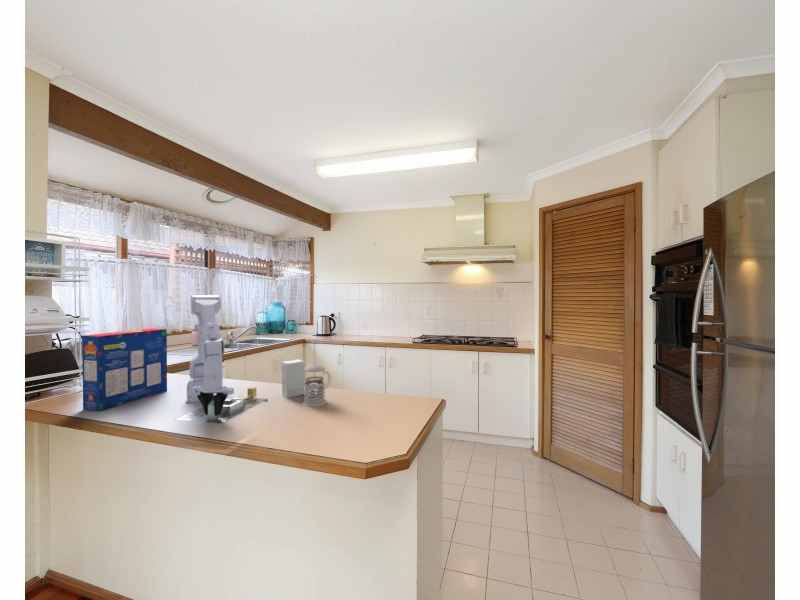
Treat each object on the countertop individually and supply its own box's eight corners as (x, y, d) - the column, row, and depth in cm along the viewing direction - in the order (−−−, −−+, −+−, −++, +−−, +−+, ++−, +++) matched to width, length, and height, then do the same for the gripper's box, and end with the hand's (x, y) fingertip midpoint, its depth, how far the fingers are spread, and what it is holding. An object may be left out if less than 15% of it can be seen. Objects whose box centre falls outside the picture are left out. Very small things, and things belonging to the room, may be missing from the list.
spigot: (205, 419, 116) (205, 402, 116) (212, 416, 119) (212, 399, 119) (213, 420, 116) (213, 403, 116) (220, 417, 119) (220, 400, 119)
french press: (298, 401, 139) (298, 340, 139) (324, 396, 146) (324, 338, 146) (307, 408, 132) (307, 343, 131) (335, 402, 138) (335, 340, 138)
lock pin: (235, 404, 131) (235, 393, 131) (251, 396, 141) (251, 386, 141) (240, 404, 130) (240, 394, 130) (256, 396, 140) (256, 387, 140)
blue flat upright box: (152, 389, 156) (152, 328, 155) (167, 391, 154) (166, 328, 153) (83, 410, 128) (82, 335, 128) (99, 411, 126) (98, 336, 126)
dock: (174, 422, 116) (174, 410, 116) (228, 398, 143) (228, 389, 143) (221, 426, 113) (221, 414, 113) (267, 401, 140) (267, 391, 140)
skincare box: (299, 391, 153) (299, 358, 153) (305, 395, 149) (305, 360, 148) (280, 395, 148) (280, 361, 148) (286, 398, 143) (286, 363, 143)
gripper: (185, 376, 115) (185, 416, 115) (223, 378, 112) (224, 419, 112) (201, 371, 122) (201, 409, 122) (237, 373, 119) (237, 412, 119)
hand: (213, 414), depth 118 cm, fingers open, 3 cm apart
